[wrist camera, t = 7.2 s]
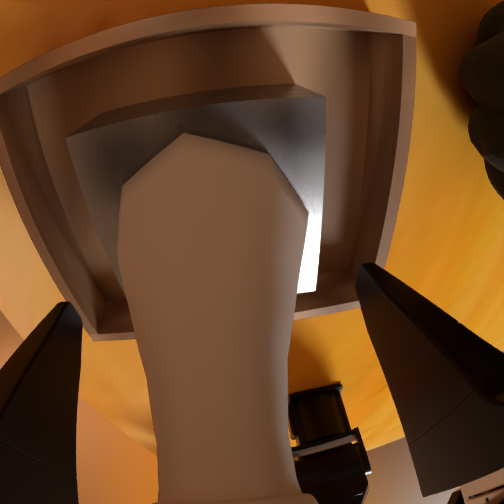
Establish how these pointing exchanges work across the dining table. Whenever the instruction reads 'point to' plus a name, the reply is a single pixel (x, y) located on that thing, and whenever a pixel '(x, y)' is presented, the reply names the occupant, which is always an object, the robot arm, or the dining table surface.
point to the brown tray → (204, 79)
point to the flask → (215, 317)
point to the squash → (488, 94)
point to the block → (213, 127)
